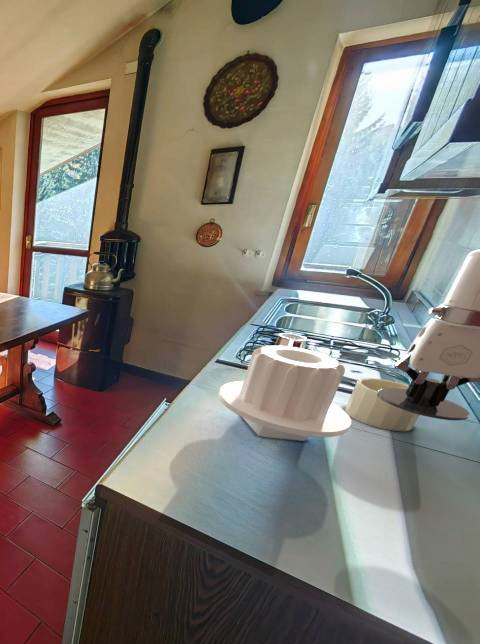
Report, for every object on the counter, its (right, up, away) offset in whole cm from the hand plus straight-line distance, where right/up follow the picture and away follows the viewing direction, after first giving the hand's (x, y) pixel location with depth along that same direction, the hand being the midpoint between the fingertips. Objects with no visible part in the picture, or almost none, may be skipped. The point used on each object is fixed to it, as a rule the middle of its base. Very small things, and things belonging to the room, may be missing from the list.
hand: (422, 400), depth 82 cm
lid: (0, -1, 0) cm, 1 cm away
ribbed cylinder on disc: (-21, -8, +13) cm, 26 cm away
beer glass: (-2, +2, +37) cm, 37 cm away
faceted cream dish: (+10, -6, +18) cm, 21 cm away
